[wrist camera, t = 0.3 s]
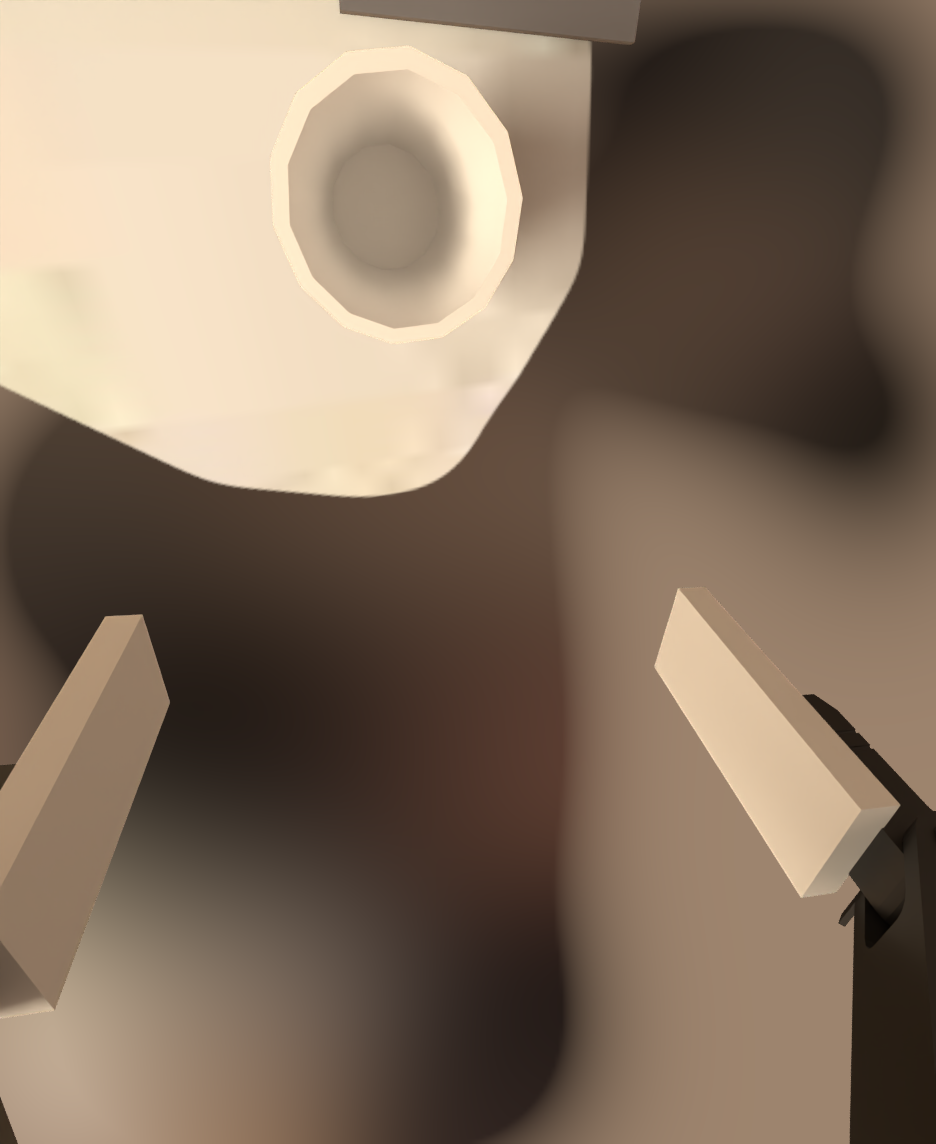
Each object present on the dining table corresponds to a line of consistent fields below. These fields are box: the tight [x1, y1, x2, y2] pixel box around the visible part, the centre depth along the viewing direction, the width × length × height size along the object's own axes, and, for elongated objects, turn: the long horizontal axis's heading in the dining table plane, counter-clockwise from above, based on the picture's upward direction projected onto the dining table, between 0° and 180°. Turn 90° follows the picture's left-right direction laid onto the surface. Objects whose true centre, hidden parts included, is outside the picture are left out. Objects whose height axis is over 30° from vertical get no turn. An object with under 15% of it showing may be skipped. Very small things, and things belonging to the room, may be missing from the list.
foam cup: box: [270, 46, 523, 344], centre depth 27 cm, size 10×9×13 cm
